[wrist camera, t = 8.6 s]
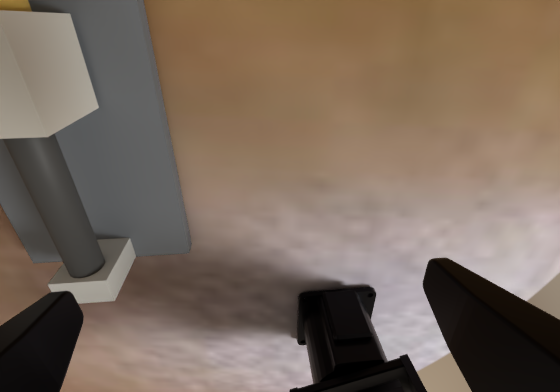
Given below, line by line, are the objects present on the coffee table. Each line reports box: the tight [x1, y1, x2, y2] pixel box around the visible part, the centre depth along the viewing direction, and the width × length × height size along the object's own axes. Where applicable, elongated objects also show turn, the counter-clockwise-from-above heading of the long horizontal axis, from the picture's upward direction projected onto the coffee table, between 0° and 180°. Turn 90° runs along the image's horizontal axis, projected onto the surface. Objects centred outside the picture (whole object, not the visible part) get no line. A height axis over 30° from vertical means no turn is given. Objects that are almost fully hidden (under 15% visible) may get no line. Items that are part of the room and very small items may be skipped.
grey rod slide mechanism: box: [0, 0, 192, 304], centre depth 14 cm, size 18×10×5 cm, turn 0°
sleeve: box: [0, 10, 99, 139], centre depth 12 cm, size 4×4×4 cm
